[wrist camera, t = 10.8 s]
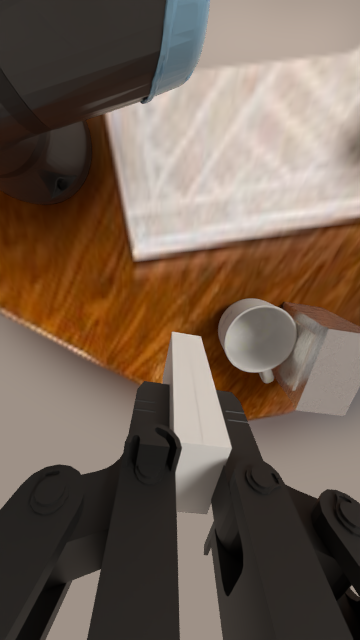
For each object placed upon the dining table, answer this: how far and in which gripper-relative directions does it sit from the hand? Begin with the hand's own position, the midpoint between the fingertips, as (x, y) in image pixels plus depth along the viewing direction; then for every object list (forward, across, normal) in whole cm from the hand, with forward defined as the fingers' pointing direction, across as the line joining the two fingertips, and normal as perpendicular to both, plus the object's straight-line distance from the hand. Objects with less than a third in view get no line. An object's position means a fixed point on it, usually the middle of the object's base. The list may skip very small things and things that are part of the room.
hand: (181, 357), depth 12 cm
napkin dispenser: (+27, +23, -8) cm, 37 cm away
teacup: (+28, +15, -8) cm, 32 cm away
